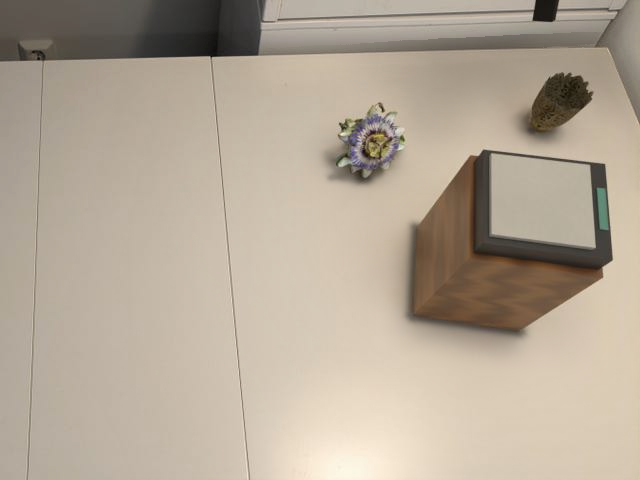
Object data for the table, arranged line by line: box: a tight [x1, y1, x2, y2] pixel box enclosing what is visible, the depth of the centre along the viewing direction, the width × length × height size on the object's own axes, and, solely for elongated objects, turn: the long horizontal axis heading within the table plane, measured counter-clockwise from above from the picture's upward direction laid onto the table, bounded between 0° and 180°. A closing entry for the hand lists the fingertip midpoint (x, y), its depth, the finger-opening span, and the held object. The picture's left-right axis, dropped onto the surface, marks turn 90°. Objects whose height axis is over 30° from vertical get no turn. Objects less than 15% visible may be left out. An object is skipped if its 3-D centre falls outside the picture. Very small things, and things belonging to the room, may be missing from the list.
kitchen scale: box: [474, 148, 614, 270], centre depth 70 cm, size 15×14×3 cm
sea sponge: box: [529, 71, 595, 132], centre depth 93 cm, size 8×7×8 cm
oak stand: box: [412, 154, 604, 332], centre depth 80 cm, size 16×16×18 cm
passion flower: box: [334, 101, 407, 179], centre depth 93 cm, size 11×11×12 cm
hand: (575, 0), depth 78 cm, fingers open, 13 cm apart
